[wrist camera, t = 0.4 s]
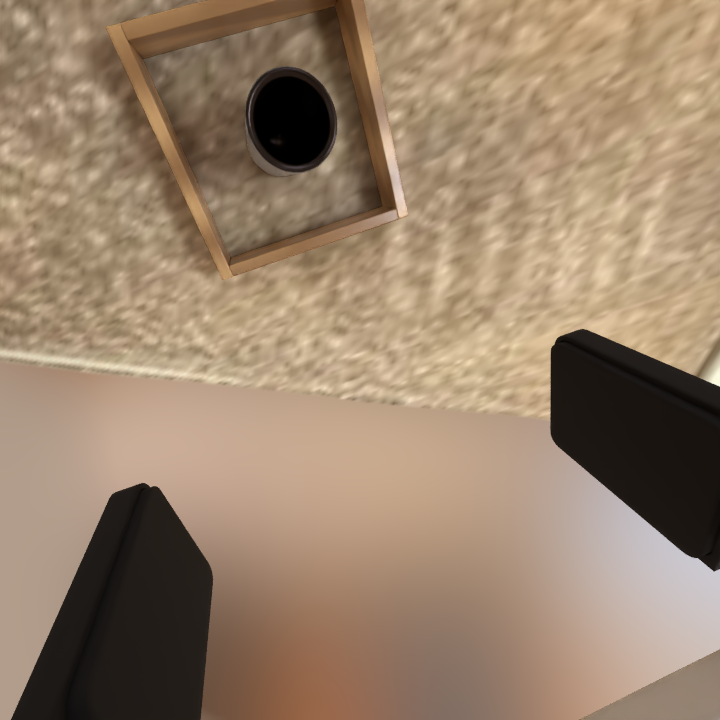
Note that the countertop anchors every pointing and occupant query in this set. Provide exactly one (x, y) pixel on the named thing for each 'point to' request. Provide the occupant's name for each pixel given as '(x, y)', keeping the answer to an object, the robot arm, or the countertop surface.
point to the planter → (289, 122)
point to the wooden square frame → (236, 14)
